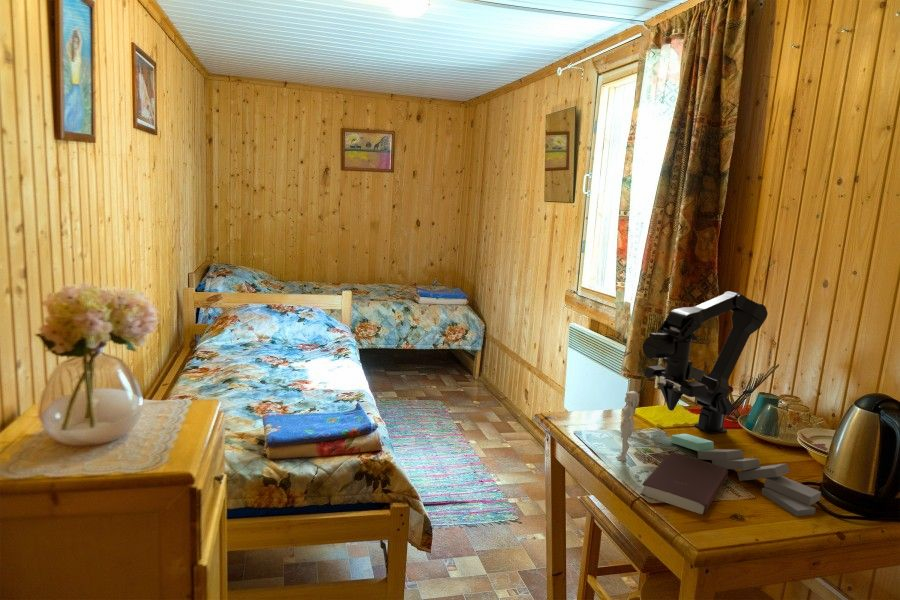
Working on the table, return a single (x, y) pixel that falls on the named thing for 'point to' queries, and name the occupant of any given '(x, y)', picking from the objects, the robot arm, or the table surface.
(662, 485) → the book
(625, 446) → the human figurine
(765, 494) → the domino
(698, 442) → the domino head
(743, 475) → the domino
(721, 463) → the domino
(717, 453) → the domino
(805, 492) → the domino
